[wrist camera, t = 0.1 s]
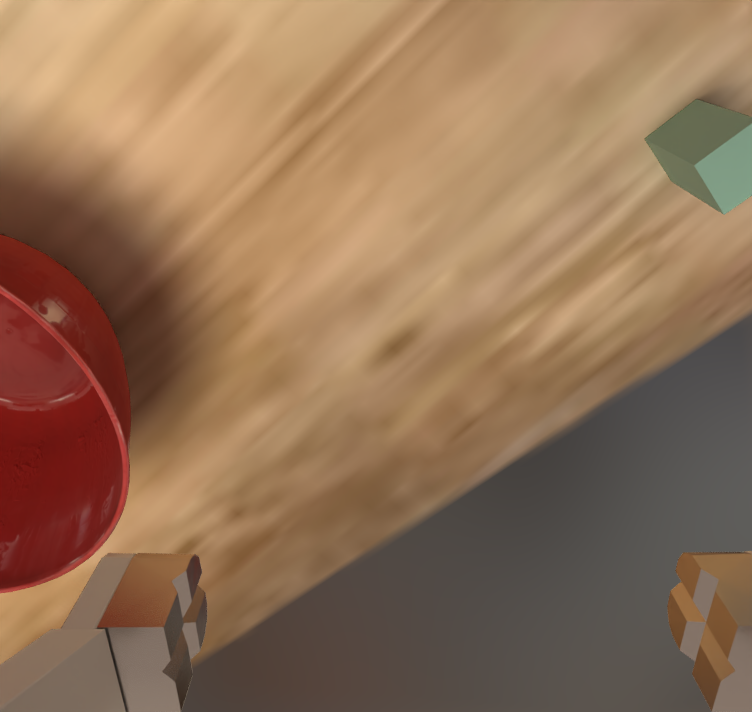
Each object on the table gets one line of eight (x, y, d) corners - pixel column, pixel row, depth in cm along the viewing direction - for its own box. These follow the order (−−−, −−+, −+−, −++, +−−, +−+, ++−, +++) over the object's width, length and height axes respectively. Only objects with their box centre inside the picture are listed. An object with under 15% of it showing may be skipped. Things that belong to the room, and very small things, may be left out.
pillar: (644, 138, 45) (694, 165, 38) (696, 99, 43) (757, 118, 36) (671, 181, 46) (724, 214, 39) (722, 144, 45) (786, 171, 38)
